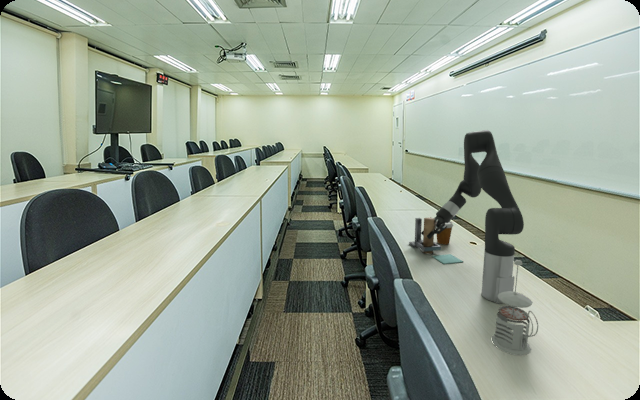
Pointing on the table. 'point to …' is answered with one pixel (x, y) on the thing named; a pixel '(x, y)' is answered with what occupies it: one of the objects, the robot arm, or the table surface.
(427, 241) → the walnut rod
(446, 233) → the disposable coffee cup
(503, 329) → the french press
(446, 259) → the felt coaster
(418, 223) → the ring stand
